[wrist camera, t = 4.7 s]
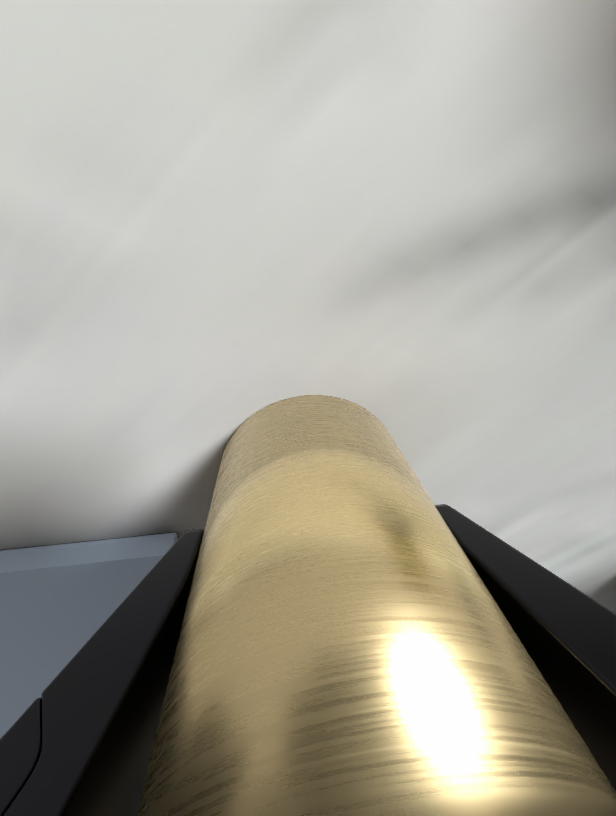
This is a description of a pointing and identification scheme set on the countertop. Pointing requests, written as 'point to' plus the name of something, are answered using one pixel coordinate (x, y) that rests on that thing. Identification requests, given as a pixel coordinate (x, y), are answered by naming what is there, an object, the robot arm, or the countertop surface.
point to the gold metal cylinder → (350, 649)
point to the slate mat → (61, 607)
